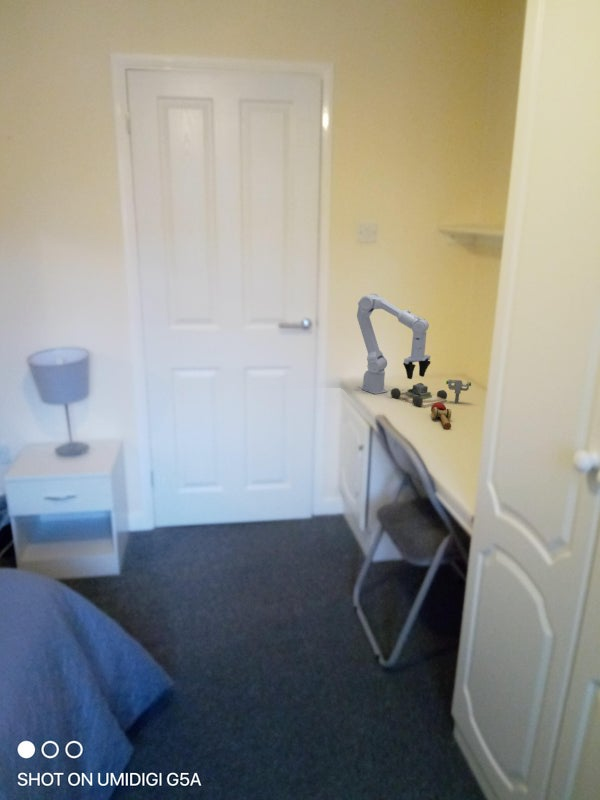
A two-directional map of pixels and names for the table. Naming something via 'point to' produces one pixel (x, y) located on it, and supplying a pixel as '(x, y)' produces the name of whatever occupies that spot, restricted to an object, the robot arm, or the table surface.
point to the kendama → (441, 414)
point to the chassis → (420, 397)
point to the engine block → (419, 389)
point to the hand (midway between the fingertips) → (415, 377)
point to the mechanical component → (457, 387)
